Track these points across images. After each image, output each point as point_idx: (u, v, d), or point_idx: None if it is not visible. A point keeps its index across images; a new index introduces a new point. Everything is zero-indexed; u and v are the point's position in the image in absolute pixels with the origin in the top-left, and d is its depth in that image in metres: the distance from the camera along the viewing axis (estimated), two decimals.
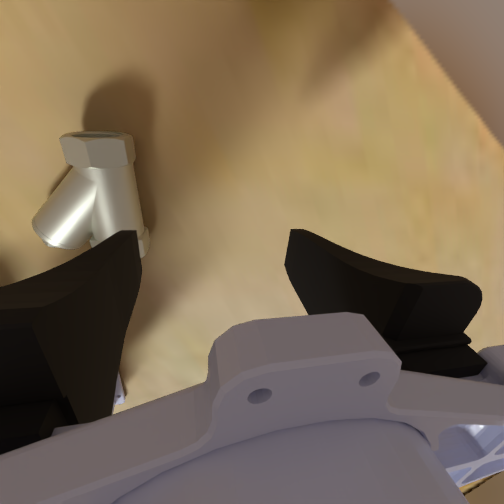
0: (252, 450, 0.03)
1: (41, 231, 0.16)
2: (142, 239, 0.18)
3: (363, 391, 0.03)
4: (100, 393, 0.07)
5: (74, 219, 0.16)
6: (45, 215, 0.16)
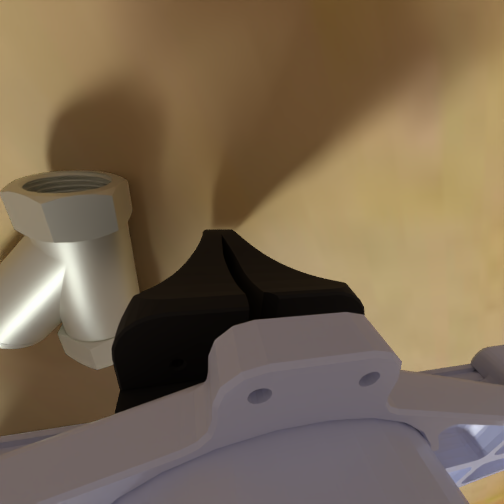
0: (252, 450, 0.03)
1: None
2: None
3: (363, 391, 0.03)
4: None
5: (29, 312, 0.10)
6: None
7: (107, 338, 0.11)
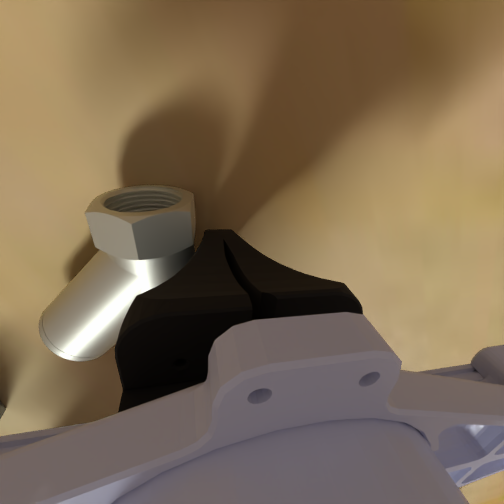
0: (252, 450, 0.03)
1: (53, 343, 0.11)
2: None
3: (363, 391, 0.03)
4: None
5: (105, 327, 0.10)
6: (60, 321, 0.10)
7: None
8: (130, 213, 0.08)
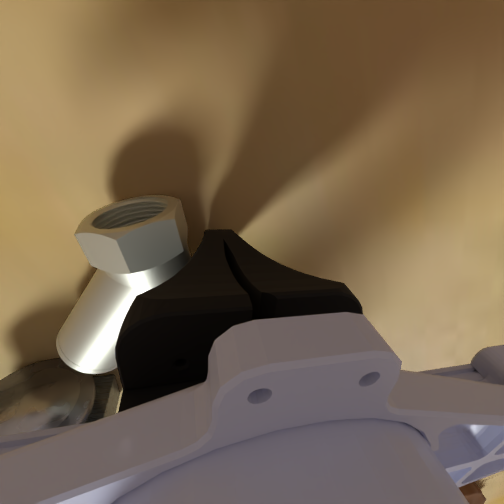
0: (252, 450, 0.03)
1: (70, 359, 0.11)
2: None
3: (363, 391, 0.03)
4: None
5: (114, 339, 0.11)
6: (73, 339, 0.11)
7: None
8: (115, 229, 0.08)
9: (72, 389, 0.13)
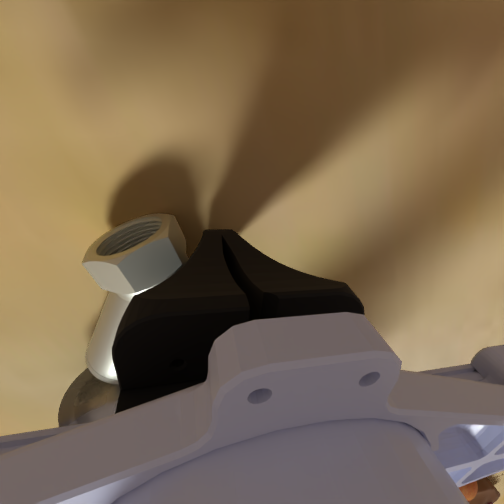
0: (252, 450, 0.03)
1: (99, 373, 0.12)
2: None
3: (363, 391, 0.03)
4: None
5: None
6: (98, 355, 0.12)
7: None
8: (115, 255, 0.09)
9: None
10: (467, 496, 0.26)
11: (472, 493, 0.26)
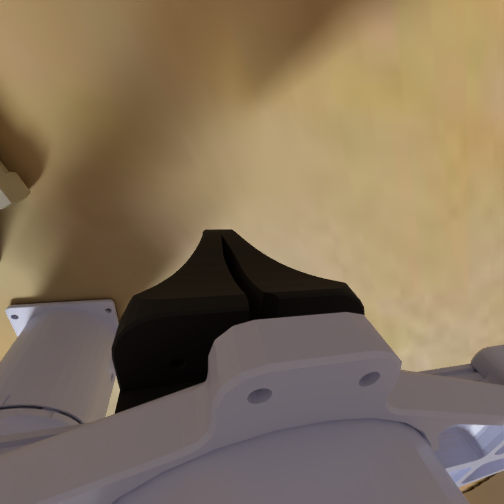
0: (252, 450, 0.03)
1: None
2: None
3: (363, 391, 0.03)
4: None
5: None
6: None
7: None
8: None
9: None
10: None
11: None
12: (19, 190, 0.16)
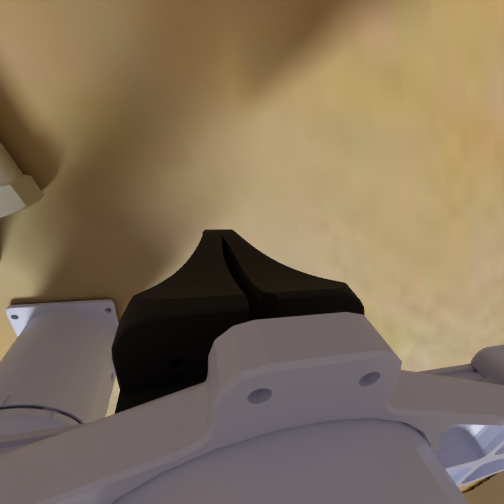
0: (252, 450, 0.03)
1: None
2: (12, 185, 0.15)
3: (363, 391, 0.03)
4: None
5: None
6: None
7: None
8: None
9: None
10: None
11: None
12: (33, 193, 0.16)
